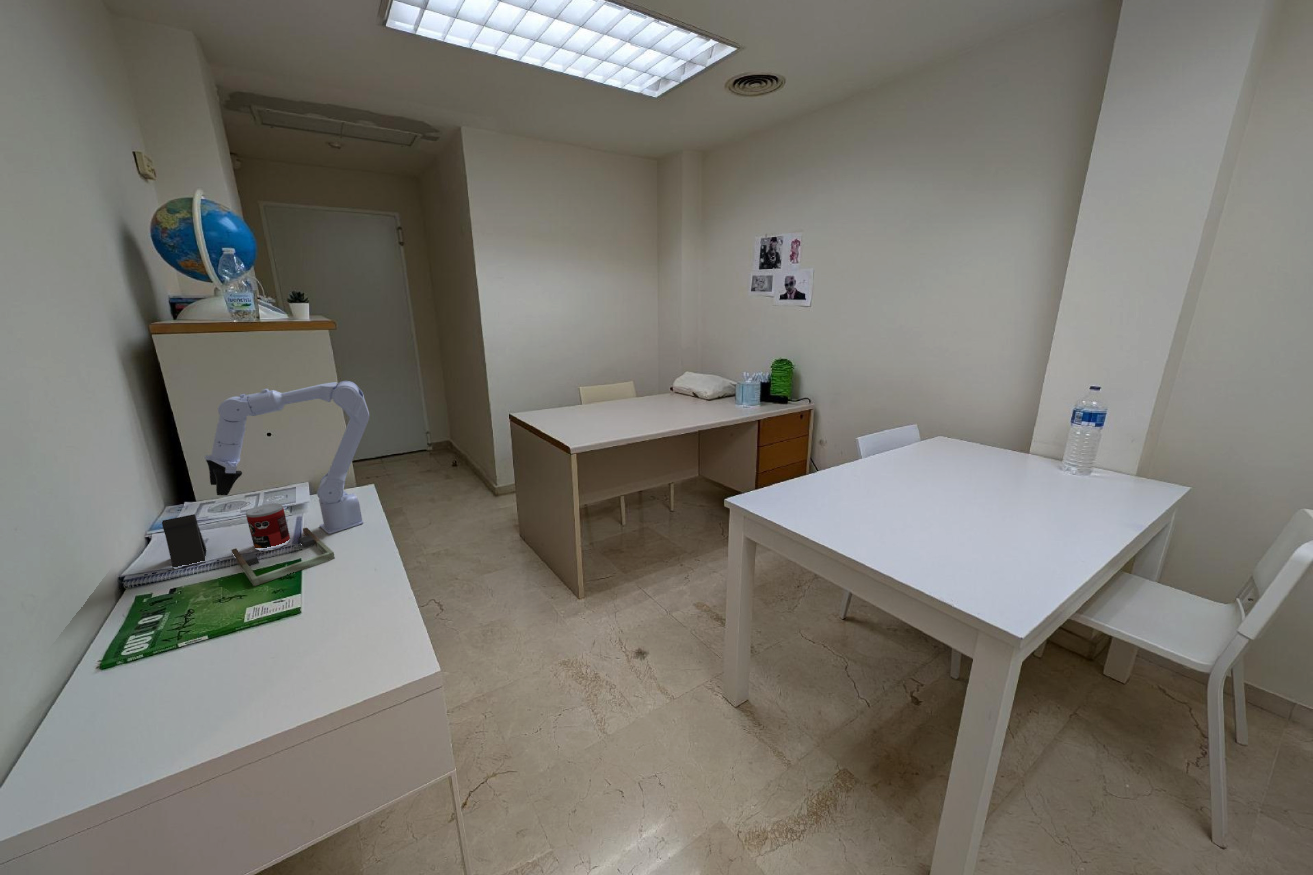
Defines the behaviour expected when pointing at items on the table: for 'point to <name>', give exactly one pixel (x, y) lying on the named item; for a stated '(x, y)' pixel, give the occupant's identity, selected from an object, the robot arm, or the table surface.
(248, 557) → the trap blocks
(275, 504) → the canned food
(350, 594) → the table surface
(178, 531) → the phone stand
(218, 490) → the robot arm
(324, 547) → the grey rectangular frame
